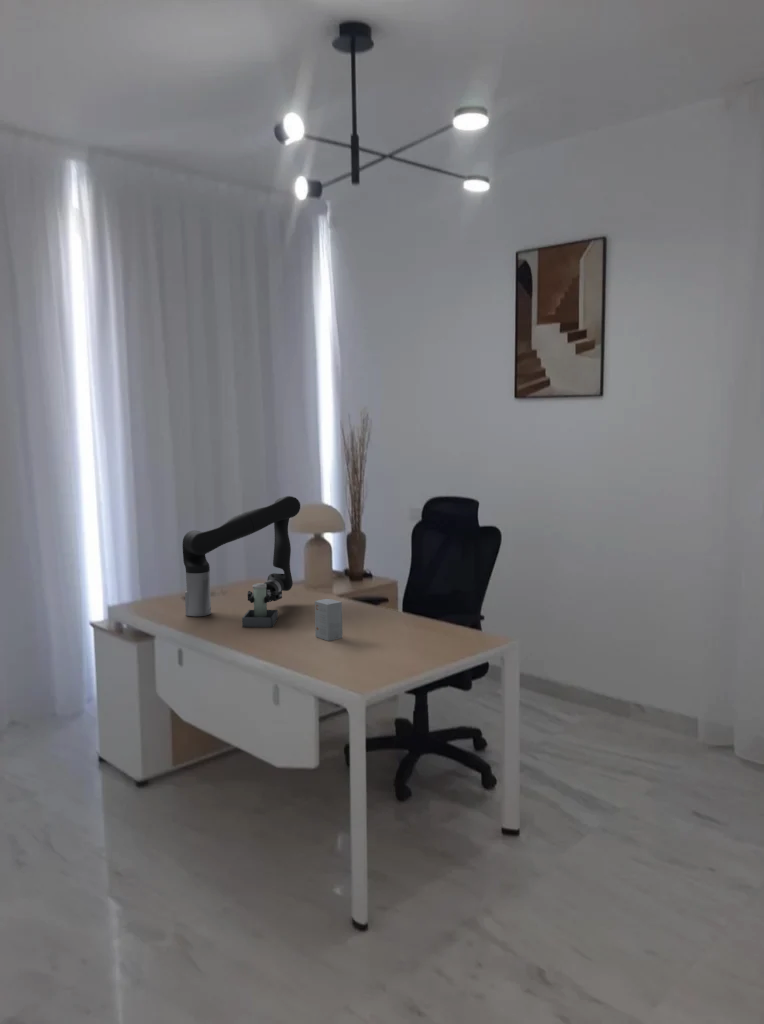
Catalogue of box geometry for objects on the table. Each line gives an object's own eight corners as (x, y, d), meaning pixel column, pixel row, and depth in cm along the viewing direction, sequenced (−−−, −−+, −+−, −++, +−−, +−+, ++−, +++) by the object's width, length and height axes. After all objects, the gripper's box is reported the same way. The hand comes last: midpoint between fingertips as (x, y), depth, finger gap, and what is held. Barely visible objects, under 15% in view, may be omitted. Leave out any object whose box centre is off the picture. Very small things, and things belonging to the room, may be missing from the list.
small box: (342, 638, 283) (342, 601, 281) (328, 641, 279) (327, 604, 277) (329, 633, 289) (328, 598, 287) (314, 636, 285) (314, 600, 283)
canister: (252, 617, 303) (251, 586, 301) (255, 614, 308) (254, 583, 306) (265, 617, 302) (264, 586, 301) (268, 614, 307) (267, 583, 306)
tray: (242, 627, 299) (242, 617, 299) (249, 618, 312) (248, 609, 312) (272, 627, 299) (272, 617, 298) (277, 618, 312) (277, 609, 311)
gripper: (251, 581, 319) (239, 590, 302) (287, 581, 317) (276, 590, 301) (252, 599, 320) (240, 609, 303) (287, 600, 318) (277, 610, 301)
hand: (258, 600), depth 302 cm, fingers closed on canister, 4 cm apart
